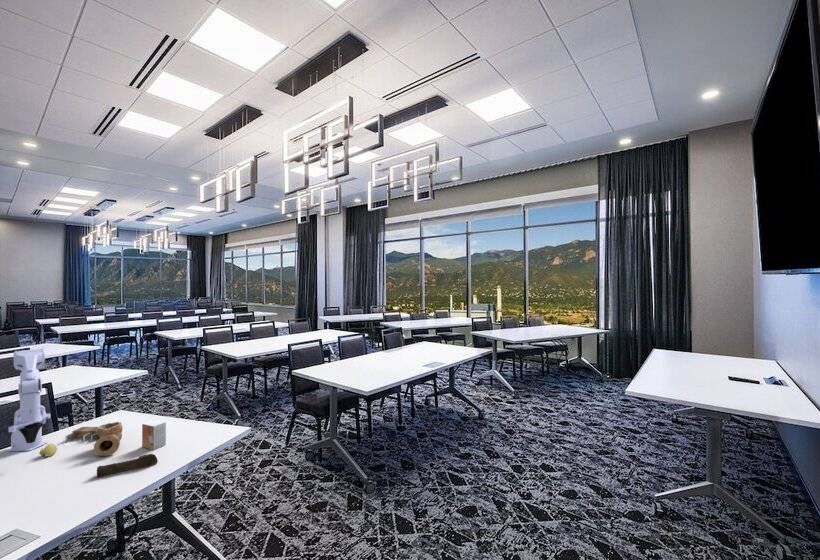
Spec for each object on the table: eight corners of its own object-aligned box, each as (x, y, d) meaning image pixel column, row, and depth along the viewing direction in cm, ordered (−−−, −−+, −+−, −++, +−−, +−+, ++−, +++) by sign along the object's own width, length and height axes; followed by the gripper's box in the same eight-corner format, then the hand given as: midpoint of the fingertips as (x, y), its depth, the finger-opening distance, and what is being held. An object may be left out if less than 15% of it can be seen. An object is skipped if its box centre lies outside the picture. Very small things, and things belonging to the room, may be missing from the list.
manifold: (64, 442, 167) (64, 434, 167) (82, 434, 176) (81, 426, 176) (103, 441, 167) (103, 434, 167) (118, 433, 176) (118, 426, 176)
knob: (59, 452, 157) (59, 441, 157) (47, 458, 152) (47, 446, 152) (48, 452, 157) (48, 441, 157) (36, 458, 151) (36, 447, 151)
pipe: (92, 460, 150) (92, 436, 150) (98, 445, 163) (98, 423, 163) (120, 454, 155) (120, 431, 155) (123, 440, 168) (123, 419, 168)
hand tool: (95, 479, 135) (95, 467, 135) (98, 474, 139) (98, 462, 139) (156, 467, 144) (156, 456, 144) (157, 462, 148) (157, 451, 148)
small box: (141, 447, 161) (141, 423, 161) (154, 441, 166) (154, 419, 166) (153, 450, 158) (153, 426, 158) (166, 444, 163) (166, 421, 163)
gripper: (21, 416, 140) (21, 450, 140) (57, 403, 154) (57, 434, 154) (2, 416, 140) (3, 450, 140) (41, 403, 154) (41, 434, 154)
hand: (30, 442), depth 147 cm, fingers closed
